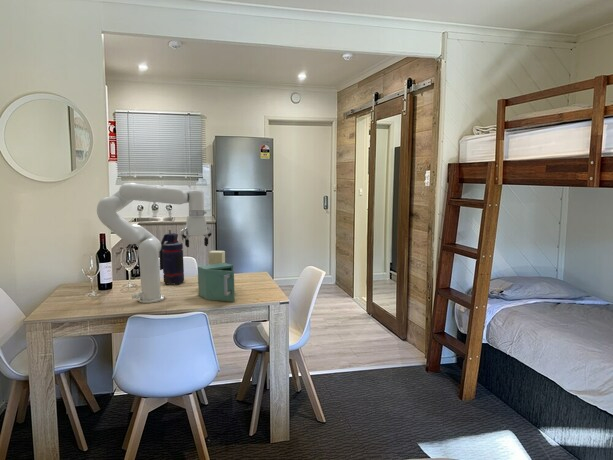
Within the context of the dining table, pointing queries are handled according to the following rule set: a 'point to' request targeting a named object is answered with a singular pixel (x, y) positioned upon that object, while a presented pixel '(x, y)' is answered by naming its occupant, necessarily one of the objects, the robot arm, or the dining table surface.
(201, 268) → the cooler
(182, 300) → the dining table surface
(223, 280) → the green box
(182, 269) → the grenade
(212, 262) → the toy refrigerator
